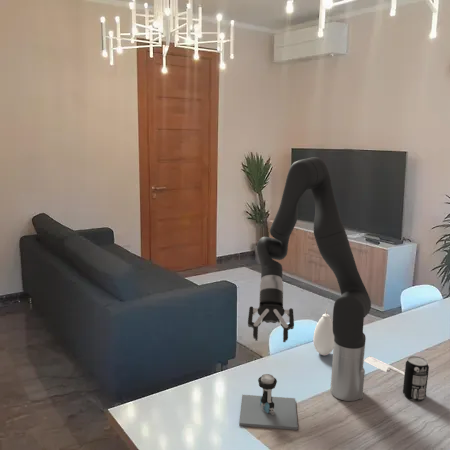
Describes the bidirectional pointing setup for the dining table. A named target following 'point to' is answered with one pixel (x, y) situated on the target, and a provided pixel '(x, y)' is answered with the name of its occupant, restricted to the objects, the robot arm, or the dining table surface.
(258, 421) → the rubber mat
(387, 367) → the white plastic strip tool
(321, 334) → the sauce bottle
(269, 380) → the push button
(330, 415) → the dining table surface
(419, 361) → the beverage can
